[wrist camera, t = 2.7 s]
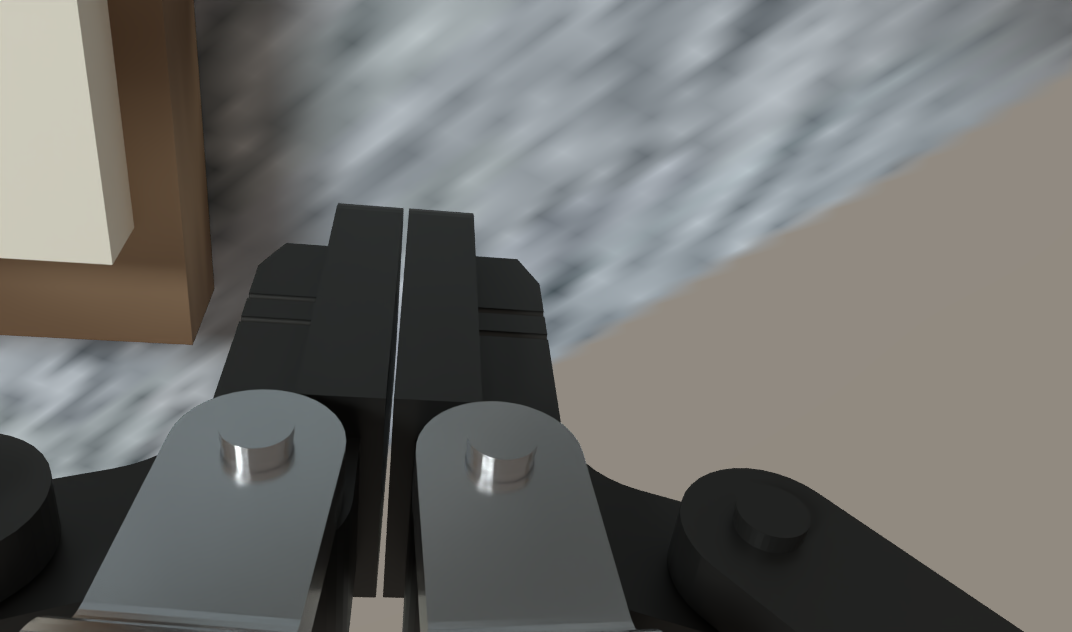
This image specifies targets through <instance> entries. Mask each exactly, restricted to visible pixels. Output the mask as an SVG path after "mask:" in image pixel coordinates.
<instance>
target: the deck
mask: <svg viewBox="0 0 1072 632" xmlns="http://www.w3.org/2000/svg"><path fill="white" fill-rule="evenodd" d="M107 3H108V12H109V20H110V28H111V37H112V45H113V54H114V62H115V70H116V79H117V87H118V96H119V104H120V113H121V121H122V129H123V138H124V146H125V155H126V163H127V171H128V180H129V188H130V197H131V205H132V213H133V222H134V229H133V231H132V232H131V234H130V236H129V237H128V239H127V241H126V243H125V244H124V246H123V248H122V249H121V251H120V253H119V255H118V256H117V258H116V260H115V262H114V263H113V265H106V264H90V263H74V262H57V261H41V260H24V259H8V258H0V335H12V336H31V337H51V338H70V339H89V340H109V341H128V342H148V343H167V344H186V345H193V342H194V340H195V337H196V335H197V332H198V330H199V327H200V324H201V322H202V319H203V317H204V314H205V312H206V309H207V306H208V304H209V301H210V299H211V296H212V294H213V291H214V277H213V263H212V249H211V235H210V221H209V207H208V193H207V179H206V166H205V152H204V138H203V124H202V110H201V96H200V82H199V68H198V54H197V40H196V26H195V12H194V0H107Z"/></svg>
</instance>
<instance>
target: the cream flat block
mask: <svg viewBox="0 0 1072 632" xmlns="http://www.w3.org/2000/svg"><path fill="white" fill-rule="evenodd" d="M133 229H134V222H133V213H132V205H131V197H130V188H129V180H128V171H127V163H126V155H125V146H124V138H123V129H122V121H121V113H120V104H119V96H118V87H117V79H116V70H115V62H114V54H113V45H112V37H111V28H110V20H109V12H108V3H107V0H0V258H8V259H24V260H41V261H57V262H74V263H90V264H106V265H113V263H114V262H115V260H116V258H117V256H118V255H119V253H120V251H121V249H122V248H123V246H124V244H125V243H126V241H127V239H128V237H129V236H130V234H131V232H132V231H133Z"/></svg>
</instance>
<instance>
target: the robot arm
mask: <svg viewBox="0 0 1072 632" xmlns="http://www.w3.org/2000/svg"><path fill="white" fill-rule="evenodd" d="M402 232H403V208H393V207H380V206H367V205H354V204H341V203H338V205H337V208H336V213H335V217H334V222H333V226H332V231H331V235H330V240H329V244H328V246H319V245H305V244H291V243H286V244H285V245H283V246H282V247H281V248H280V249H278V250H277V251H276V252H275V253H273V254H272V255H271V256H270V257H268V258H267V259H266V260H265V261H263V262H262V263H261V264H260V265H259V266H258V268H257V271H256V274H255V277H254V280H253V283H252V286H251V289H250V292H249V298H247V301H246V304H245V307H244V310H243V313H242V315H241V322H240V321H239V324H238V327H237V330H236V333H235V336H234V339H233V342H232V345H231V348H230V351H229V354H228V357H227V359H226V362H225V365H224V368H223V371H222V374H221V377H220V380H219V383H218V386H217V389H216V392H215V395H214V398H213V399H211V400H208V401H206V402H204V403H202V404H200V405H198V406H196V407H194V408H193V409H191V410H190V411H189V412H187V413H186V414H185V415H183V416H182V417H181V418H180V419H179V420H178V421H177V422H176V423H175V424H174V426H173V427H172V429H171V430H170V432H169V434H168V435H167V437H166V439H165V441H164V443H163V445H162V447H161V449H160V451H159V453H158V455H157V456H154V457H152V458H150V459H147V460H144V461H141V462H138V463H135V464H131V465H127V466H123V467H118V468H114V469H108V470H102V471H97V472H91V473H85V474H79V475H73V476H68V477H62V478H56V479H52V475H51V471H50V467H49V464H48V462H47V460H46V459H45V457H44V456H43V454H42V453H41V452H40V451H38V450H37V449H36V448H35V447H34V446H32V445H30V444H29V443H27V442H25V441H23V440H20V439H17V438H15V437H12V436H8V435H3V434H0V632H349V626H350V616H351V608H352V598H353V597H376V588H377V575H378V564H379V552H380V540H381V528H382V516H383V503H384V492H385V480H386V468H387V456H388V444H389V432H390V419H391V407H392V395H393V383H394V370H395V356H396V340H397V323H398V305H399V287H400V269H401V251H402ZM543 312H544V311H543V304H542V298H541V291H540V285H539V283H538V282H537V281H536V280H535V279H534V277H533V276H532V275H531V274H530V273H529V272H528V271H527V270H526V269H525V267H524V266H523V265H522V264H521V263H520V262H519V261H518V260H517V259H506V258H492V257H478V256H476V253H475V232H474V215H473V213H461V212H448V211H435V210H422V209H409V218H408V231H407V243H406V256H405V268H404V281H403V293H402V306H401V318H400V331H399V343H398V356H397V368H396V381H395V393H394V409H393V427H392V445H391V463H390V481H389V499H388V518H387V536H386V553H385V571H384V589H383V597H395V598H404V612H403V613H404V614H403V631H402V632H1023V631H1022V630H1020V629H1019V628H1017V627H1016V626H1014V625H1013V624H1012V623H1010V622H1009V621H1007V620H1006V619H1004V618H1003V617H1001V616H1000V615H998V614H997V613H995V612H994V611H992V610H991V609H989V608H988V607H986V606H985V605H983V604H982V603H980V602H979V601H977V600H976V599H974V598H973V597H971V596H970V595H968V594H967V593H965V592H964V591H963V590H961V589H960V588H958V587H957V586H955V585H954V584H952V583H950V582H949V581H948V580H946V579H945V578H943V577H942V576H940V575H939V574H937V573H936V572H934V571H933V570H931V569H930V568H928V567H927V566H925V565H924V564H922V563H921V562H919V561H918V560H917V559H915V558H914V557H912V556H910V555H909V554H908V553H906V552H905V551H903V550H902V549H900V548H899V547H897V546H896V545H894V544H893V543H891V542H890V541H888V540H887V539H885V538H884V537H882V536H881V535H879V534H878V533H876V532H875V531H873V530H872V529H870V528H869V527H868V526H866V525H864V524H863V523H862V522H860V521H859V520H857V519H856V518H854V517H852V516H851V515H850V514H848V513H847V512H845V511H844V510H842V509H841V508H839V507H838V506H836V505H835V504H833V503H832V502H830V501H829V500H827V499H826V498H824V497H823V496H822V495H820V494H819V493H817V492H815V491H814V490H812V489H810V488H809V487H807V486H805V485H803V484H801V483H799V482H797V481H795V480H793V479H791V478H788V477H785V476H782V475H779V474H776V473H772V472H768V471H764V470H757V469H749V468H732V469H725V470H719V471H716V472H712V473H709V474H707V475H705V476H703V477H701V478H699V479H698V480H697V481H695V482H694V483H693V484H692V485H691V486H690V487H689V488H688V489H687V491H686V492H685V494H684V496H683V499H682V501H681V502H680V501H677V500H673V499H669V498H666V497H662V496H659V495H655V494H651V493H648V492H644V491H640V490H637V489H634V488H631V487H628V486H625V485H622V484H620V483H618V482H616V481H613V480H611V479H609V478H607V477H605V476H604V475H602V474H600V473H599V472H597V471H595V470H594V469H593V468H591V467H590V466H589V465H587V464H586V461H585V458H584V455H583V451H582V449H581V447H580V444H579V442H578V441H577V440H576V438H575V437H574V435H573V434H572V433H571V432H570V431H569V430H568V429H567V428H566V427H565V426H564V425H563V424H561V421H560V414H559V408H558V401H557V395H556V388H555V382H554V376H553V369H552V363H551V356H550V350H549V343H548V340H547V330H546V324H545V317H543Z"/></svg>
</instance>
